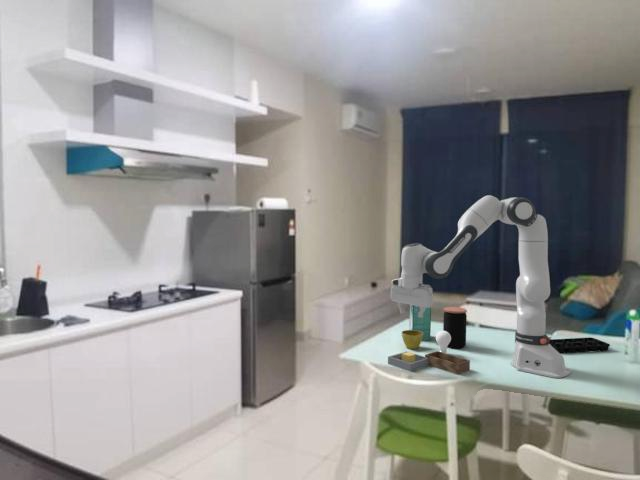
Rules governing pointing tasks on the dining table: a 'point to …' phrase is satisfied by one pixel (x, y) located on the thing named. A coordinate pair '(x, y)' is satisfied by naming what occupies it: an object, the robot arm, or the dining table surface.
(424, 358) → the tub
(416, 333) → the flower pot
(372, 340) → the dining table surface
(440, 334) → the light bulb
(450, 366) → the box
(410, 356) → the block
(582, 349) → the egg carton
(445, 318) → the coffee jar
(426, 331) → the milk carton
